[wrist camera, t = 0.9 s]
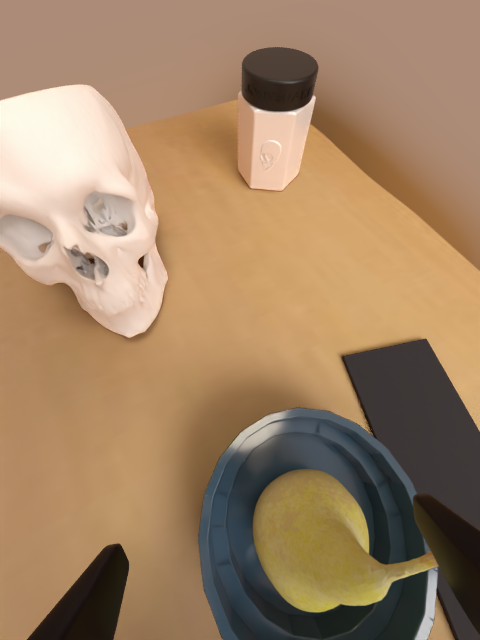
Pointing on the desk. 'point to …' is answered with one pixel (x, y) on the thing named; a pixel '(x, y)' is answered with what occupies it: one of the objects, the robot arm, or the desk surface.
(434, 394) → the place mat
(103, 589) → the robot arm
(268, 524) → the fruit
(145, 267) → the skull planter
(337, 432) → the bowl
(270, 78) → the jar
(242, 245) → the desk surface
